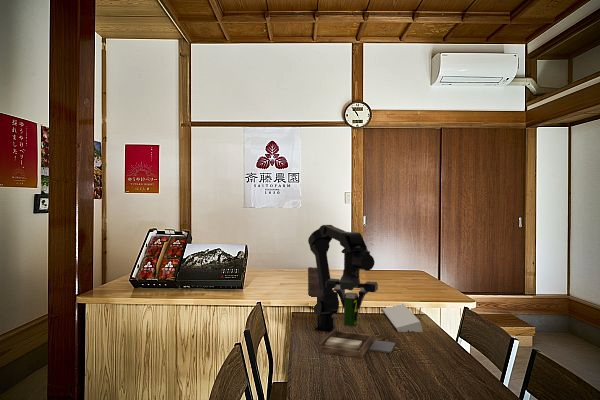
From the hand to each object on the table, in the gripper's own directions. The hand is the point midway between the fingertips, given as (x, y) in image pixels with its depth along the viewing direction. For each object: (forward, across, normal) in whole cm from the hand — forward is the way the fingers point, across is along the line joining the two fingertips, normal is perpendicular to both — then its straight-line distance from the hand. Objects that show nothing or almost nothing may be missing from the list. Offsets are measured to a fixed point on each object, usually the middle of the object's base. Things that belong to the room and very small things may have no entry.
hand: (351, 308), depth 167 cm
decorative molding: (+14, +12, +38) cm, 42 cm away
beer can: (+7, 0, 0) cm, 7 cm away
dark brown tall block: (+13, -29, +42) cm, 53 cm away
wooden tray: (+13, 0, -4) cm, 14 cm away
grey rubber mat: (+13, +12, 0) cm, 18 cm away
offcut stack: (+13, 0, -10) cm, 16 cm away
